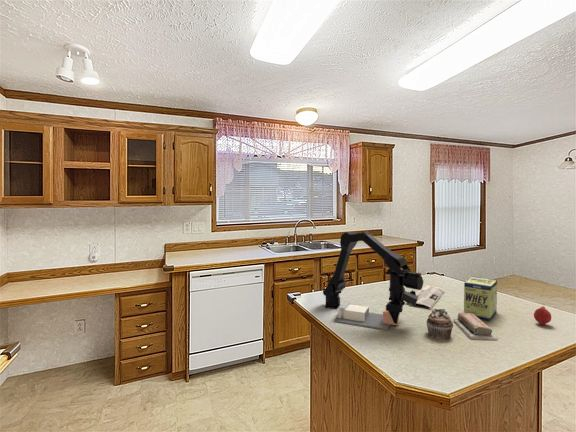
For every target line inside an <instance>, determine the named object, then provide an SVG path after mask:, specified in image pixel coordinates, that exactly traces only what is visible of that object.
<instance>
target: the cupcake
mask: <svg viewBox="0 0 576 432" xmlns="http://www.w3.org/2000/svg"><path fill="white" fill-rule="evenodd" d="M427 317H428V318H427V320H426V326H427V327H426V328H427V332H428V335H429V336H430V337H432V338H434V339H437V340H449V339H450V338H451V336H452V331H453V328H454V321H452V320H451V316H450V314H448V311H447V310H446V309H445V308H439V309H438V308H432V309H431V312H430V314H429V315H428V316H427Z"/></svg>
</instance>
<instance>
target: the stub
mask: <svg viewBox="0 0 576 432" xmlns="http://www.w3.org/2000/svg"><path fill="white" fill-rule="evenodd" d="M382 314H383V323H385V324H391V325H393V326H399V323H400V315H399V316H398V321H397V324H395V323H394V322H393V319H392V317H391V315H390V313H389V311H387V310H386V307H385V308H384V309H383V311H382Z"/></svg>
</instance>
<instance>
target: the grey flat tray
mask: <svg viewBox="0 0 576 432" xmlns="http://www.w3.org/2000/svg"><path fill="white" fill-rule="evenodd" d="M334 323H338V324H346V325H350V326H356V327H357V326H358V327H363V328H369V329H376V330H382V331H387V332H388V331H389V330H390V327H391V325H392V324H385V323H383V313H376V312H375V313H374V312H370V306H365V305H364V306H363V305H356V304H351V302H350V301H344V302H343V303H341V304H340V306H339V307H338V308H337V317H336V318H335V319H334Z"/></svg>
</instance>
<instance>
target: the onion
mask: <svg viewBox="0 0 576 432" xmlns="http://www.w3.org/2000/svg"><path fill="white" fill-rule="evenodd" d="M533 318H534V319H535V321H536V322H537V323H538V324H540V325H541V326H544V325H547V324H548V323H550V322H551V321H552V314H551V312H550V311H549V310H548V309H547V308H546V307H545V305H542V306H540V307H539V308H536V310H534V312H533Z"/></svg>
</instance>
